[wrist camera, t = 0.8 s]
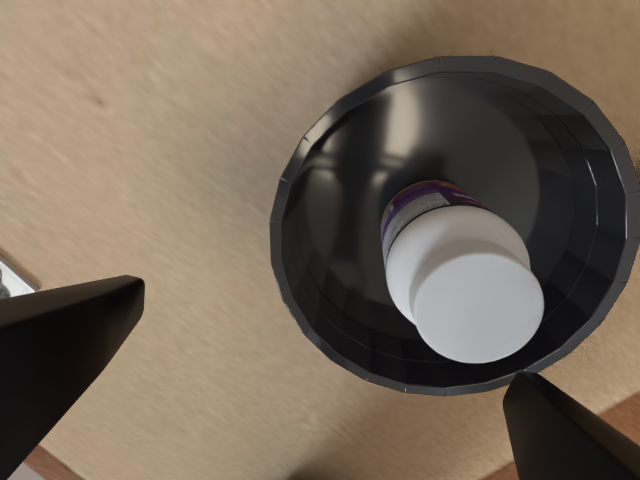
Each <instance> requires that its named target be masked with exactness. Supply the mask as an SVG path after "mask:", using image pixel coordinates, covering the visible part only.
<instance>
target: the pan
mask: <svg viewBox="0 0 640 480" xmlns="http://www.w3.org/2000/svg"><path fill="white" fill-rule="evenodd" d="M429 180H437V181H444V182H448V183H451V184H453V185H455V186H457V187H459V188H461V189H463V190H464V191H466V192H467V193H468V194H469V195H471V196H472V197H474V198H475V199H476V200H478V201H479V202H480V203H482V204H483V205H485V206H486V207H487V208H489V209H490V210H491V211H493V212H494V213H496V214H497V215H498V216H500V217H501V218H502V219H503V220H505V221H506V222H507V223H508V224H509V225H510V226H511V227H512V228H513V229H514V230H515V231H516V232H517V233H518V235H519V236H520V237H521V239H522V241H523V242H524V244H525V247H526V249H527V252H528V255H529V260H530V271H531V272H532V273H533V274H534V276H535V277H536V279H537V280H538V282H539V284H540V287H541V290H542V292H543V298H544V311H543V316H542V320H541V322H540V325H539V327H538V329H537V331H536V332H535V334H534V335H533V336H532V338H531V339H530V340H529V341H528V342H527V343H526V344H525V345H524V346H523V347H522V348H520V349H519V350H518V351H516V352H514V353H513V354H511V355H509V356H507V357H504V358H502V359H499V360H496V361H491V362H486V363H465V362H459V361H455V360H452V359H449V358H447V357H445V356H443V355H441V354H439V353H437V352H436V351H435V350H433V349H432V348H431V347H430V346H429V345H428V344H427V343H426V342H425V341H424V339H423V338H422V337H421V335H420V333H419V331H418V329H417V327H416V325H415V324H413V323H412V322H411V321H410V320H408V319H407V318H406V317H405V316H404V315H403V314H402V313H401V312H400V310H399V309H398V308H397V306H396V305H395V303H394V301H393V299H392V297H391V295H390V292H389V289H388V285H387V280H386V273H385V265H384V257H383V249H382V241H381V222H382V217H383V214H384V212H385V209H386V208H387V206H388V204H389V203H390V201H391V200H392V199H393V198H394V197H395V196H396V195H397V194H398V193H399V192H400V191H401V190H403V189H405V188H406V187H408V186H410V185H412V184H415V183H418V182H422V181H429ZM639 243H640V184H639V181H638V178H637V175H636V172H635V169H634V166H633V163H632V160H631V157H630V154H629V151H628V148H627V145H626V143H625V141H624V140H623V139H622V137H621V136H620V135H619V133H618V132H617V131H616V129H615V128H614V127H613V126H612V124H611V123H610V122H609V120H608V119H607V118H606V116H605V115H604V114H603V112H602V111H601V110H600V109H599V107H598V106H597V105H596V103H594V101H593V100H592V99H590V98H589V97H587V96H586V95H584V94H583V93H581V92H580V91H578V90H577V89H575V88H574V87H572V86H571V85H569V84H568V83H566V82H565V81H563V80H562V79H561V78H559V77H558V76H556V75H555V74H553V73H552V72H549V71H547V70H543V69H540V68H537V67H533V66H530V65H526V64H523V63H519V62H516V61H513V60H509V59H506V58H502V57H499V56H440V57H434V58H430V59H427V60H423V61H420V62H416V63H413V64H409V65H406V66H402V67H399V68H395V69H392V70H388V71H386V72H383V73H382V74H380V75H378V76H377V77H375V78H373V79H372V80H370V81H368V82H367V83H365V84H363V85H362V86H360V87H358V88H357V89H355V90H353V91H352V92H350V93H348V94H347V95H345V96H343V97H342V98H340V99H339V100H337V101H336V103H335V104H334V105H333V106H332V107H331V108H330V109H329V110H328V111H327V112H326V113H325V114H324V115H323V116H322V117H321V118H320V119H319V120H318V121H317V122H316V123H315V124H314V125H313V126H312V127H311V128H310V129H309V130H308V131H307V132H306V134H305V135H304V137H302V139H301V141H300V143H299V144H298V146H297V148H296V150H295V152H294V153H293V155H292V157H291V159H290V161H289V162H288V164H287V166H286V168H285V170H284V171H283V173H282V175H281V178H280V180H279V184H278V188H277V192H276V196H275V200H274V204H273V209H272V213H271V217H270V252H271V265H272V268H273V272H274V275H275V278H276V281H277V284H278V288H279V291H280V294H281V297H282V300H283V302H284V304H285V306H286V307H287V309H288V310H289V312H290V313H291V315H292V317H293V318H294V320H295V321H296V323H297V325H298V326H299V328H300V329H301V331H302V333H303V334H304V335H305V336H306V337H307V338H308V339H309V340H310V341H311V342H312V343H313V344H314V345H315V346H316V347H317V348H318V349H320V350H321V351H322V352H323V353H324V354H325V355H326V356H327V357H328V358H329V359H330V360H331V361H333V362H334V363H336V364H338V365H339V366H341V367H343V368H345V369H346V370H348V371H350V372H352V373H353V374H355V375H357V376H358V377H360V378H362V379H364V380H366V381H368V382H371V383H374V384H377V385H381V386H384V387H387V388H390V389H393V390H397V391H400V392H403V393H404V392H405V393H412V394H423V395H434V396H454V395H463V394H472V393H480V392H487V391H491V390H494V389H497V388H500V387H503V386H506V385H509V384H510V383H511V381H512V379H513V377H514V375H515V373H516V372H517V371H519V370H525V371H529V372H534V373H538V372H540V371H542V370H543V369H545V368H547V367H548V366H550V365H552V364H553V363H555V362H557V361H558V360H560V359H562V358H564V357H565V356H567V355H568V354H570V353H571V352H572V351H573V350H574V349H575V348H576V347H577V346H578V345H579V344H580V343H581V342H582V341H584V340H585V339H586V338H587V337H588V336H589V335H590V334H591V333H592V332H593V331H594V330H595V329H596V328H597V327H598V326H599V325H600V324H601V322H603V320H604V319H605V317H606V316H607V314H608V312H609V311H610V309H611V308H612V306H613V305H614V303H615V301H616V300H617V298H618V297H619V295H620V294H621V292H622V290H623V289H624V287H625V286H626V283H627V282H628V279H629V276H630V273H631V269H632V266H633V263H634V259H635V256H636V253H637V250H638V246H639Z"/></svg>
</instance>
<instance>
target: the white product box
mask: <svg viewBox="0 0 640 480" xmlns="http://www.w3.org/2000/svg"><path fill="white" fill-rule="evenodd" d="M39 289H40V288H39V287H38V286H37V285H35V284H34V283H33V282H32V281H31V280H30V279H29V278H27V277H26V276H25V275H24V274H23V273H22V272H21V271H19V270H18V269H17V268H16V267H15V266H14V265H13V264H12V263H10V262H9V261H8V260H7V259H6V258H5V257H4V256H2V255H1V254H0V299H3V298H8V297H14V296H19V295H24V294H29V293H34V292H38V291H39Z"/></svg>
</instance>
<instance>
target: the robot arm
mask: <svg viewBox="0 0 640 480" xmlns="http://www.w3.org/2000/svg"><path fill="white" fill-rule="evenodd" d="M144 294H145V283H144V281H143V279H141V278H138V277H134V276H129V275H123V276H118V277H113V278H108V279H102V280H97V281H92V282H87V283H81V284H76V285H71V286H66V287H61V288H55V289H50V290H45V291H40V292H34V293H29V294H24V295H19V296H14V297H8V298H3V299H0V480H7V479H8V478H9V477H10V476H11V474H12V473H13V472H14V471H15V470H16V469H17V468H18V467H19V465H20V464H21V463H22V462H23V461H24V460H25V459H26V457H27V456H28V455H29V454H30V453H31V452H32V451H33V450H34V448H35V447H36V446H37V445H38V444H39V443H40V442H41V440H42V439H43V438H44V437H45V436H46V435H47V434H48V433H49V431H50V430H51V429H52V428H53V427H54V426H55V425H56V423H57V422H58V421H59V420H60V419H61V418H62V417H63V416H64V414H65V413H66V412H67V411H68V410H69V409H70V408H71V406H72V405H73V404H74V403H75V402H76V401H77V400H78V399H79V397H80V396H81V395H82V394H83V393H84V392H85V391H86V389H87V388H88V387H89V386H90V385H91V384H92V383H93V381H94V380H95V379H96V378H97V377H98V376H99V375H100V373H101V372H102V371H103V370H104V369H105V367H106V366H107V365H108V363H109V362H110V361H111V359H112V358H113V356H114V355H115V354H116V352H117V351H118V349H119V348H120V347H121V345H122V344H123V342H124V341H125V340H126V338H127V337H128V335H129V334H130V333H131V331H132V330H133V328H134V327H135V326H136V324H137V323H138V321H139V320H140V318H141V316H142V314H143V310H144ZM503 410H504V414H505V419H506V423H507V428H508V433H509V437H510V442H511V446H512V451H513V456H514V460H515V464H516V468H517V472H518V476H519V479H520V480H640V446H639V445H638V444H636V443H635V442H633V441H632V440H631V439H629V438H628V437H626V436H625V435H624V434H622V433H621V432H619V431H618V430H617V429H615V428H614V427H612V426H611V425H610V424H608V423H607V422H605V421H604V420H603V419H601V418H600V417H598V416H597V415H596V414H594V413H593V412H591V411H590V410H588V409H587V408H586V407H584V406H583V405H581V404H580V403H579V402H577V401H576V400H574V399H573V398H572V397H570V396H569V395H567V394H566V393H565V392H563V391H562V390H560V389H559V388H558V387H556V386H555V385H553V384H552V383H551V382H549V381H548V380H546V379H545V378H543V377H542V376H541V375H539V374H537V373H534V372H529V371H525V370H519V371H517V372H516V373H515V375H514V377H513V379H512V381H511V383H510V385H509V387H508V390H507V392H506V394H505V396H504V400H503Z"/></svg>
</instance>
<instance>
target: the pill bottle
mask: <svg viewBox="0 0 640 480" xmlns="http://www.w3.org/2000/svg"><path fill="white" fill-rule="evenodd" d="M381 241H382V249H383V257H384V265H385V273H386V280H387V285H388V289H389V292H390V295H391V297H392V299H393V301H394V303H395V305H396V306H397V308H398V309H399V310H400V312H401V313H402V314H403V315H404V316H405V317H406V318H407V319H408V320H410V321H411V322H412V323H413V324H415V325H416V327H417V329H418V331H419V333H420V335H421V337H422V338H423V339H424V341H425V342H426V343H427V344H428V345H429V346H430V347H431V348H432V349H433V350H435V351H436V352H437V353H439V354H441V355H443V356H445V357H447V358H449V359H452V360H455V361H459V362H465V363H486V362H491V361H496V360H499V359H502V358H504V357H507V356H509V355H511V354H513V353H514V352H516V351H518V350H519V349H520V348H522V347H523V346H524V345H525V344H526V343H527V342H528V341H529V340H530V339H531V338H532V336H533V335H534V334H535V332H536V331H537V329H538V327H539V325H540V322H541V320H542V316H543V311H544V298H543V292H542V290H541V287H540V284H539V282H538V280H537V279H536V277H535V276H534V274H533V273H532V272H531V271H530V260H529V255H528V252H527V249H526V247H525V244H524V242H523V241H522V239H521V237H520V236H519V235H518V233H517V232H516V231H515V230H514V229H513V228H512V227H511V226H510V225H509V224H508V223H507V222H506V221H505V220H503V219H502V218H501V217H500V216H498V215H497V214H496V213H494V212H493V211H491V210H490V209H489V208H487V207H486V206H485V205H483V204H482V203H480V202H479V201H478V200H476V199H475V198H474V197H472V196H471V195H469V194H468V193H467V192H466V191H464V190H463V189H461V188H459V187H457V186H455V185H453V184H451V183H448V182H444V181H437V180H429V181H422V182H418V183H415V184H412V185H410V186H408V187H406V188H405V189H403V190H401V191H400V192H399V193H398V194H397V195H396V196H395V197H394V198H393V199H392V200H391V201H390V203H389V204H388V206H387V208H386V209H385V212H384V214H383V217H382V222H381Z"/></svg>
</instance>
